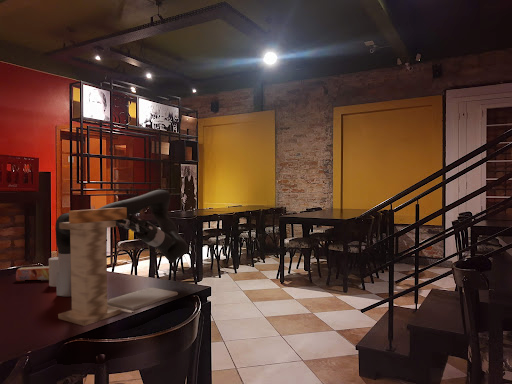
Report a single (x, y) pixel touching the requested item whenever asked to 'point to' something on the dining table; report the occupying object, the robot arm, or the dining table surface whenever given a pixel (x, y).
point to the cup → (53, 271)
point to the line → (123, 309)
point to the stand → (88, 273)
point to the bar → (97, 215)
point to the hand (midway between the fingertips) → (121, 216)
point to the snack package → (32, 273)
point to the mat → (140, 298)
